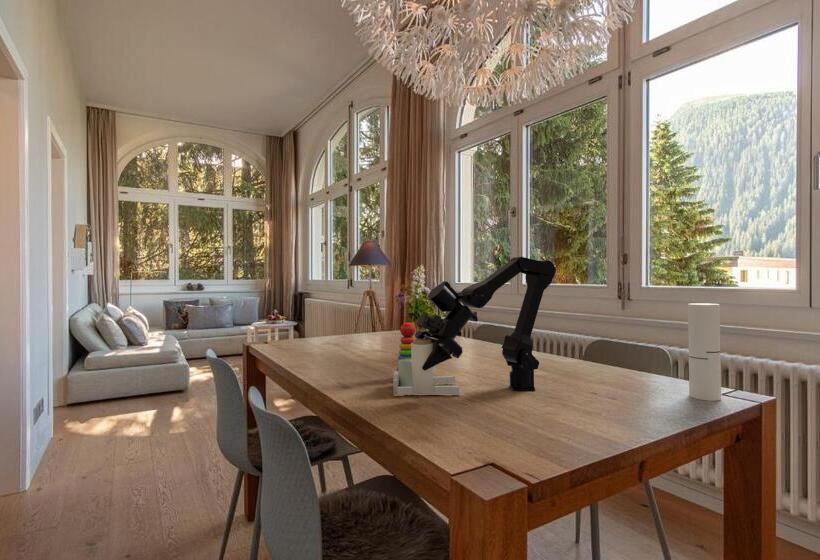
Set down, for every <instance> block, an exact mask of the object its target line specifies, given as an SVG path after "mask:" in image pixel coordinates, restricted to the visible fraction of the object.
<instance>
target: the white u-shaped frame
mask: <svg viewBox="0 0 820 560" xmlns="http://www.w3.org/2000/svg"><path fill="white" fill-rule="evenodd" d="M392 379H393V380H392V384H393V385H392V387H393V388H392V389H393V390H392V391H393V392H392V393H393V395H397V394H415V393H413V392H412V387H399V386H398V384H399V377H398V371H396V370H394V371H393V378H392ZM434 381H435V384H437V383H439V384H441V383H444V384H445V383H455V384H456V376H455V375H447V376H443V375H442V376H434ZM431 394H454V395H460V396H461V386H459V385H458V386H457V385H435V392H434V393H431Z"/></svg>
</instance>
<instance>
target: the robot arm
mask: <svg viewBox="0 0 820 560" xmlns="http://www.w3.org/2000/svg"><path fill="white" fill-rule="evenodd" d="M556 269H557V268H556V266H555V264H554V263H553V261H551V260H539V259H538V260H537V259H533V258H528V257H525V256H514V257H512V258H510V260H509V261H508V262H506V263H505V264H504V265H502V266H501V267H500V268H498V269H497V270H495V271H494V272H493V273H491V274H490V275H489V276H487V277H486V278H485V279H483V280H481V281H478V282H476V283H473V284H470V285H469V286H467V287H465V288H463V289H462V290H461V291H460V292H457V291H456V290H455V289H454V288H453V287H452V285H451V284H450V283H449V282H448V281H446V280H445V281H442V282H441V283H440V284H438V285H436V286H435V287H434V288H432V289H431V290H430V291H429V293H428V295H427V298H428V299H429V301H430V302H432V304H434V305H435V306H436V308H437V309H438V310H439V311H440V312H441V313H445V312H446V313H447V314H446V315H445V316H444V318H441V317H442V316H440V315H438V314H433V315H432V316H429V315H424V314H420V315H419V317H418V321H417V323H416V326H417V327H421V328H423V329H419V330H417V331H416V332H415V334H414V338H415V339H430V340H431V342H433V350H432V352H431V354H430V355H429V357H428V358H427V360H426V361H425V363H424V365H423V367H422V369H423V370H424V371H425V370H427V369H429V368H431V367H433V366H434V367H436V366H437V365H439V364H441V363H443V362H446V361H448V360H451V359H452V358H455V359H460V357H461V356H462V354H463V347H462V346H461V345H460V344H459V343H458V342H457V341H456V340H455V339H456V338H457V337H461V336H462V334H463V333H462V332H461V331H462V330H463V328H465V326H466V325H467V323H468V322H469V321H470V322H476V323H477V322H478V321H479V318H478V312H477V311H472V309H470V308H475V309H481V308H484V307H485V306H486V305H487V304H488V303H489V302H490V301H491V300H492V299H493V296H494V294H495V293H496V291H498V290H499V289H500V288H502V287H503V286H504V285H505V284H506V283H508V282H510V281H511V280H512V279H514V278H515V277H516V276H517V275H519V274H520V273H521V274H523V275H525V282H526V286H527V287H526V291H525V294H524V297H523V302H522V304H521V308H520V311H519V315H518V318H517V321H516V324H515V328H514V331H513V332H512V333H511V334H510V335H508V334H506V335H505V336H504V341H503V343H502V346H501V348H502V351H501V355H502V356H503V359H505V362H506V364H507V366H509V367H510V368H511V370H510V371H509V375H508V376H509V386H510V387H511V389H512V391H536V387H535V370H538V369H539V366H540V360H538V359H537V357H536V356H534V354H533V348H534V347H533V346H534V345H533V341H532V333H533V331H534V325H535V322H536V319H537V316H538V313H539V308H540V305H541V301H542V298H543V294H544V293H545V290H546V289H547V288H548V287H549V286H550V285H551V284H552V282H553V280H554V277H555V276H556ZM424 329H426V330H424Z"/></svg>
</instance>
